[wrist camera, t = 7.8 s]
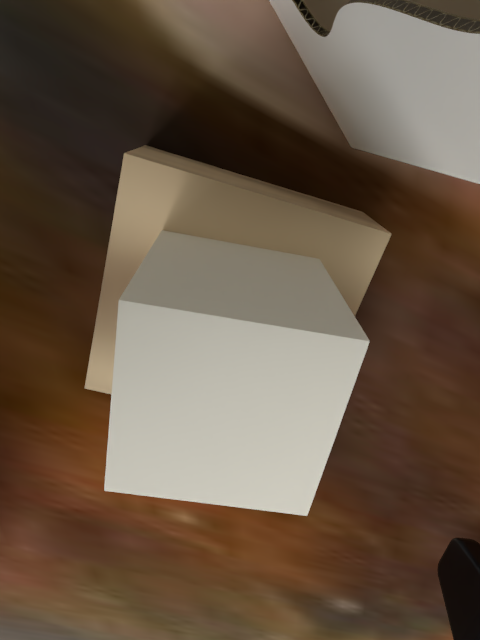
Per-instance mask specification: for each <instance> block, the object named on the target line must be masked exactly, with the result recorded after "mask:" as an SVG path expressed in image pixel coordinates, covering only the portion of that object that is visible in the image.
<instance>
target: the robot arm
mask: <svg viewBox="0 0 480 640" xmlns="http://www.w3.org/2000/svg"><path fill="white" fill-rule="evenodd" d="M438 577H439V581H440V585H441V589H442V594H443V598H444V602H445V606H446V610H447V614H448V618H449V622H450V626H451V630H452V634H453V639H454V640H480V544H479V543H478V542H476V541H475V540H472V539H465V538H454V539H452V540H451V542H450V543H449V545H448V547H447V549H446V550H445V552H444V554H443V556H442V557H441V559H440V561H439V564H438Z"/></svg>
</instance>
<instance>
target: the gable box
mask: <svg viewBox="0 0 480 640" xmlns="http://www.w3.org/2000/svg"><path fill="white" fill-rule="evenodd" d="M269 1H270V3H271V5H272V7H273V9H274V10H275V12H276V14H277V16H278V18H279V19H280V21H281V23H282V25H283V26H284V28H285V30H286V32H287V34H288V35H289V37H290V39H291V41H292V43H293V44H294V46H295V48H296V50H297V52H298V53H299V55H300V57H301V59H302V60H303V62H304V64H305V66H306V68H307V69H308V71H309V73H310V75H311V77H312V78H313V80H314V82H315V84H316V86H317V87H318V89H319V91H320V93H321V94H322V96H323V98H324V100H325V102H326V103H327V105H328V107H329V109H330V111H331V112H332V114H333V116H334V118H335V120H336V121H337V123H338V125H339V127H340V128H341V130H342V132H343V134H344V136H345V137H346V139H347V141H348V143H349V145H350V146H351V148H355V149H358V150H362V151H365V152H369V153H372V154H376V155H379V156H383V157H386V158H390V159H393V160H397V161H400V162H404V163H407V164H411V165H414V166H418V167H421V168H425V169H429V170H432V171H436V172H439V173H443V174H446V175H450V176H453V177H457V178H460V179H464V180H467V181H471V182H474V183H478V184H480V0H269Z"/></svg>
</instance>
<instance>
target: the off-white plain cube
mask: <svg viewBox="0 0 480 640" xmlns="http://www.w3.org/2000/svg"><path fill="white" fill-rule="evenodd" d="M369 342H370V341H369V339H368V338H367V336H366V334H365V333H364V331H363V329H362V328H361V326H360V325H359V323H358V321H357V320H356V318H355V316H354V315H353V313H352V311H351V310H350V308H349V306H348V305H347V303H346V302H345V300H344V298H343V297H342V295H341V293H340V292H339V290H338V288H337V287H336V285H335V283H334V282H333V280H332V278H331V277H330V275H329V274H328V272H327V270H326V269H325V267H324V265H323V264H322V262H321V260H320V259H318V258H313V257H307V256H302V255H296V254H291V253H285V252H280V251H274V250H269V249H263V248H258V247H252V246H247V245H241V244H236V243H230V242H225V241H219V240H214V239H208V238H203V237H197V236H192V235H186V234H181V233H175V232H170V231H164V230H162V231H161V232H160V234H159V236H158V237H157V239H156V240H155V242H154V244H153V245H152V247H151V249H150V250H149V252H148V253H147V255H146V257H145V258H144V260H143V261H142V263H141V265H140V266H139V268H138V270H137V271H136V273H135V274H134V276H133V278H132V279H131V281H130V283H129V284H128V286H127V287H126V289H125V291H124V292H123V294H122V295H121V297H120V299H119V303H118V316H117V329H116V342H115V355H114V368H113V381H112V394H111V407H110V420H109V433H108V446H107V459H106V472H105V485H104V491H111V492H119V493H127V494H135V495H143V496H151V497H159V498H167V499H175V500H183V501H191V502H199V503H208V504H216V505H224V506H232V507H240V508H248V509H256V510H264V511H272V512H280V513H288V514H296V515H304V516H307V515H308V512H309V509H310V507H311V504H312V501H313V498H314V495H315V493H316V490H317V487H318V484H319V482H320V479H321V476H322V473H323V470H324V468H325V465H326V462H327V459H328V456H329V454H330V451H331V448H332V445H333V442H334V440H335V437H336V434H337V431H338V429H339V426H340V423H341V420H342V417H343V415H344V412H345V409H346V406H347V403H348V401H349V398H350V395H351V392H352V389H353V387H354V384H355V381H356V378H357V375H358V373H359V370H360V367H361V364H362V362H363V359H364V356H365V353H366V350H367V348H368V345H369Z"/></svg>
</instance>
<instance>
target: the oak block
mask: <svg viewBox="0 0 480 640" xmlns="http://www.w3.org/2000/svg"><path fill="white" fill-rule="evenodd" d="M162 230H164V231H170V232H175V233H181V234H186V235H192V236H197V237H203V238H208V239H214V240H219V241H225V242H230V243H236V244H241V245H247V246H252V247H258V248H263V249H269V250H274V251H280V252H285V253H291V254H296V255H302V256H307V257H313V258H318V259H320V260H321V262H322V264H323V265H324V267H325V269H326V270H327V272H328V274H329V275H330V277H331V278H332V280H333V282H334V283H335V285H336V287H337V288H338V290H339V292H340V293H341V295H342V297H343V298H344V300H345V302H346V303H347V305H348V306H349V308H350V310H351V311H352V313H353V315H354V316H355V315H356V312H357V310H358V308H359V306H360V303H361V301H362V299H363V297H364V295H365V292H366V290H367V288H368V286H369V283H370V281H371V279H372V277H373V274H374V272H375V270H376V268H377V266H378V263H379V261H380V259H381V257H382V254H383V252H384V250H385V248H386V245H387V243H388V241H389V239H390V237H391V233H390V232H388V231H387V230H386V229H385V228H383V227H382V226H381V225H379V224H378V223H377V222H375V221H374V220H373V219H371V218H370V217H369V216H367V215H366V214H365V213H363V212H362V211H358V210H355V209H352V208H348V207H345V206H342V205H339V204H335V203H332V202H329V201H326V200H322V199H319V198H316V197H313V196H309V195H306V194H303V193H300V192H296V191H293V190H290V189H287V188H283V187H280V186H277V185H273V184H270V183H267V182H264V181H260V180H257V179H254V178H251V177H247V176H244V175H241V174H238V173H234V172H231V171H228V170H225V169H221V168H218V167H215V166H212V165H208V164H205V163H202V162H198V161H195V160H192V159H189V158H185V157H182V156H179V155H176V154H172V153H169V152H166V151H163V150H159V149H156V148H153V147H150V146H143V147H140V148H137V149H134V150H131V151H129V152H126V153H124V157H123V163H122V169H121V175H120V181H119V187H118V193H117V199H116V204H115V210H114V216H113V222H112V228H111V234H110V240H109V246H108V252H107V258H106V264H105V270H104V276H103V282H102V288H101V294H100V299H99V305H98V311H97V317H96V323H95V329H94V335H93V341H92V347H91V353H90V359H89V365H88V371H87V377H86V383H85V389H90V390H94V391H98V392H103V393H107V394H112V381H113V368H114V355H115V342H116V329H117V316H118V303H119V299H120V297H121V295H122V294H123V292H124V291H125V289H126V287H127V286H128V284H129V283H130V281H131V279H132V278H133V276H134V274H135V273H136V271H137V270H138V268H139V266H140V265H141V263H142V261H143V260H144V258H145V257H146V255H147V253H148V252H149V250H150V249H151V247H152V245H153V244H154V242H155V240H156V239H157V237H158V236H159V234H160V232H161V231H162Z"/></svg>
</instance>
